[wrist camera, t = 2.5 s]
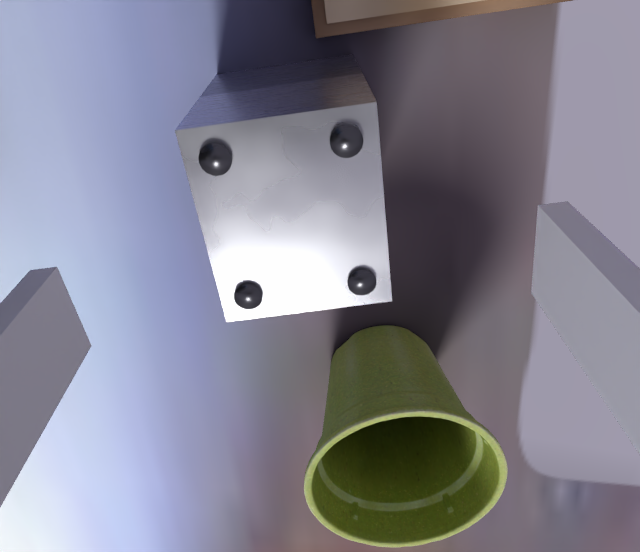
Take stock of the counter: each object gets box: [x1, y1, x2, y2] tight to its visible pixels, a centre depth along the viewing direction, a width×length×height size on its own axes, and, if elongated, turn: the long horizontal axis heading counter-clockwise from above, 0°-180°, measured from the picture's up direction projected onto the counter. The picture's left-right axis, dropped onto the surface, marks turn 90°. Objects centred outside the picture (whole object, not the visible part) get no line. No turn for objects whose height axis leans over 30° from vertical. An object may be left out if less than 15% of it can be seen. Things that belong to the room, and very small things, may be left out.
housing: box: [175, 54, 392, 322], centre depth 21 cm, size 6×7×9 cm
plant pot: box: [304, 325, 507, 547], centre depth 29 cm, size 9×9×9 cm
